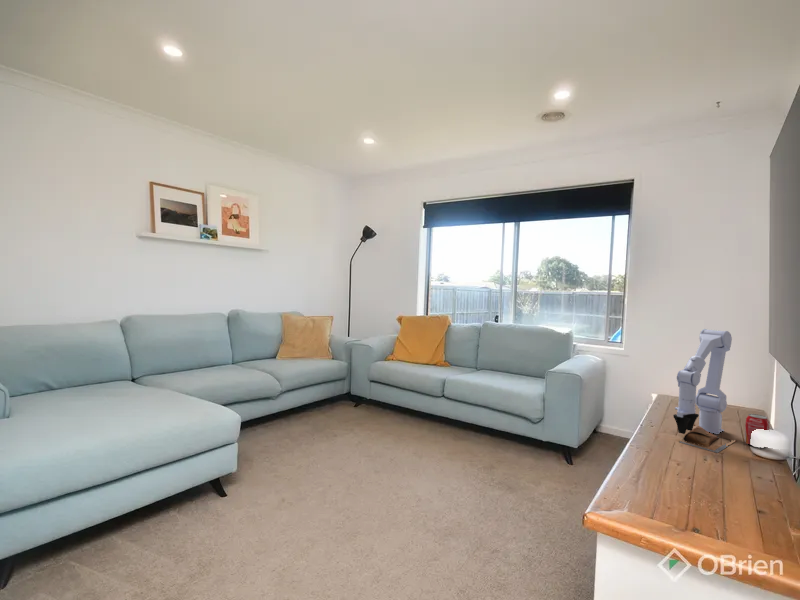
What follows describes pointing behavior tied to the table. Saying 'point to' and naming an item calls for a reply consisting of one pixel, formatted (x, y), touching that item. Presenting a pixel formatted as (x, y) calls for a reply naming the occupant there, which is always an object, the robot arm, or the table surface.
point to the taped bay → (709, 449)
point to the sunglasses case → (700, 436)
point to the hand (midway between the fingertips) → (685, 431)
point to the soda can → (755, 425)
